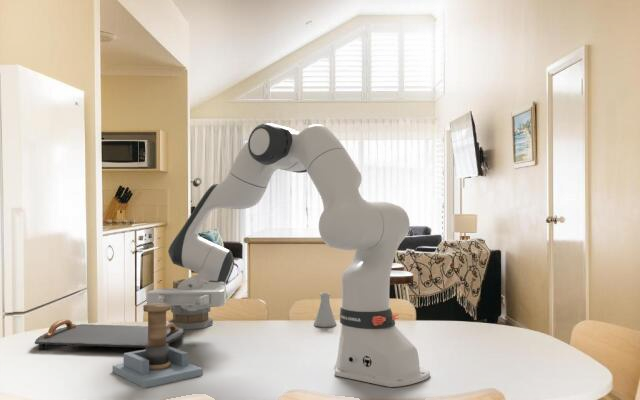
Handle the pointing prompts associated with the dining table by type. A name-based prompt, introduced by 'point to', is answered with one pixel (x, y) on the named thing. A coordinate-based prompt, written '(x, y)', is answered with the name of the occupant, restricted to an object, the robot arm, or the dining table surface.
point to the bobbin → (157, 336)
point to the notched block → (140, 374)
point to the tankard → (189, 315)
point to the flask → (325, 313)
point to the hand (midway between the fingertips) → (179, 301)
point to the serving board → (103, 335)
